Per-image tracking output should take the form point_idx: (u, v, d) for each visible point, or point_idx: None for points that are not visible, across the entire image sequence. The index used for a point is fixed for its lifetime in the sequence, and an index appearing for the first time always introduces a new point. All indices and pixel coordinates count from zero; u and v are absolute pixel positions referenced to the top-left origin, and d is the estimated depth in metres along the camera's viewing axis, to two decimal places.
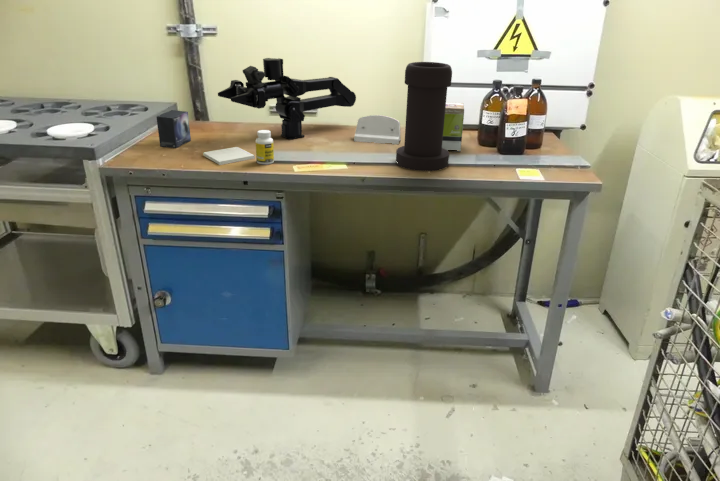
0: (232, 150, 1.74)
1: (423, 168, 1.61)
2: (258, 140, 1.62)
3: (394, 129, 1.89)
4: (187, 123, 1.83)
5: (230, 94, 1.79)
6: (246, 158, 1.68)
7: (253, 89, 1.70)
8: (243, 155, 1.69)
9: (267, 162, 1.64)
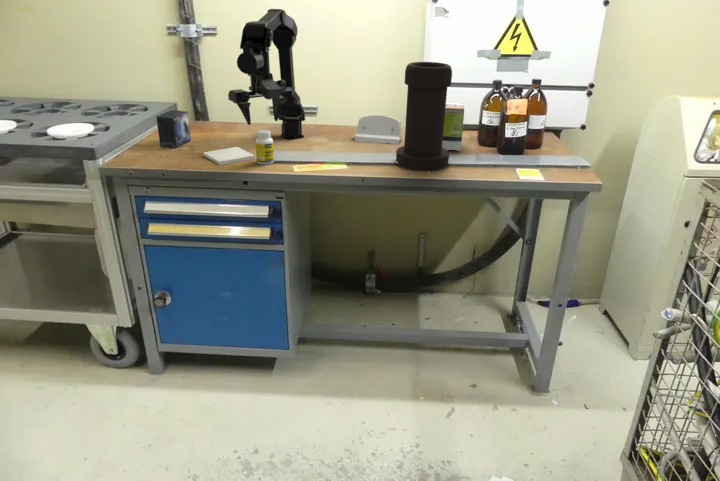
0: (232, 150, 1.74)
1: (423, 168, 1.61)
2: (258, 140, 1.62)
3: (395, 129, 1.89)
4: (187, 123, 1.83)
5: None
6: (246, 158, 1.68)
7: (288, 99, 1.61)
8: (243, 155, 1.69)
9: (267, 162, 1.64)
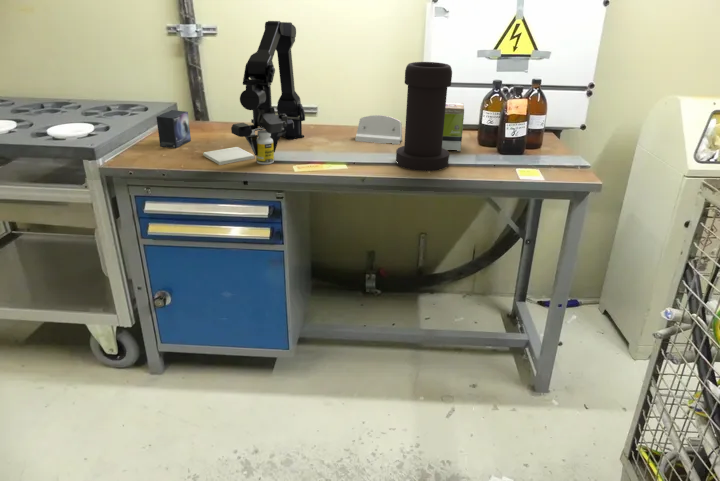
0: (232, 150, 1.74)
1: (423, 168, 1.61)
2: (258, 140, 1.62)
3: (395, 129, 1.89)
4: (187, 123, 1.83)
5: None
6: (246, 158, 1.68)
7: (285, 132, 1.64)
8: (243, 155, 1.69)
9: (267, 162, 1.64)
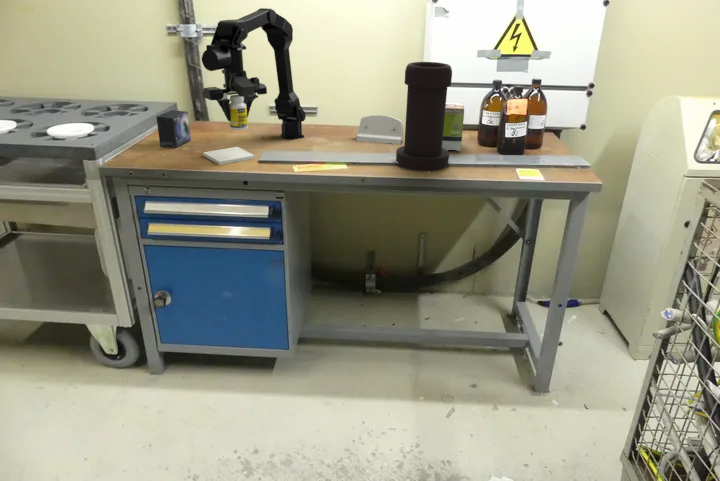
0: (232, 150, 1.74)
1: (423, 168, 1.61)
2: (231, 105, 1.60)
3: (396, 129, 1.89)
4: (187, 123, 1.83)
5: None
6: (246, 158, 1.68)
7: (257, 96, 1.62)
8: (243, 155, 1.69)
9: (241, 127, 1.62)
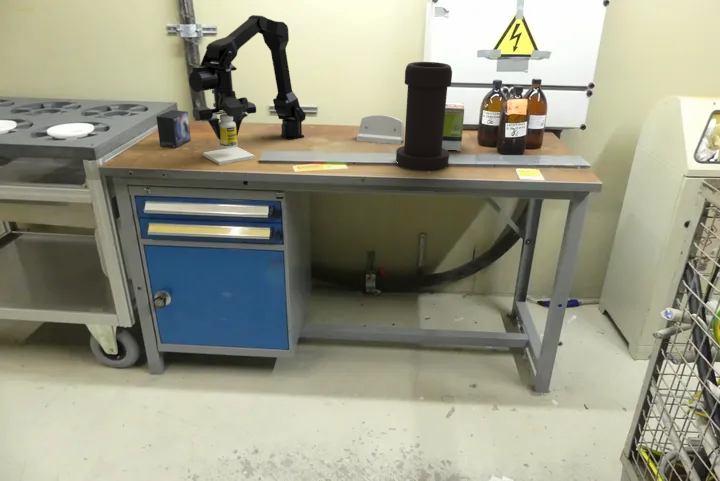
0: (232, 150, 1.74)
1: (423, 168, 1.61)
2: (220, 124, 1.64)
3: (397, 129, 1.89)
4: (187, 123, 1.83)
5: None
6: (246, 158, 1.68)
7: (246, 115, 1.66)
8: (243, 155, 1.69)
9: (230, 145, 1.66)
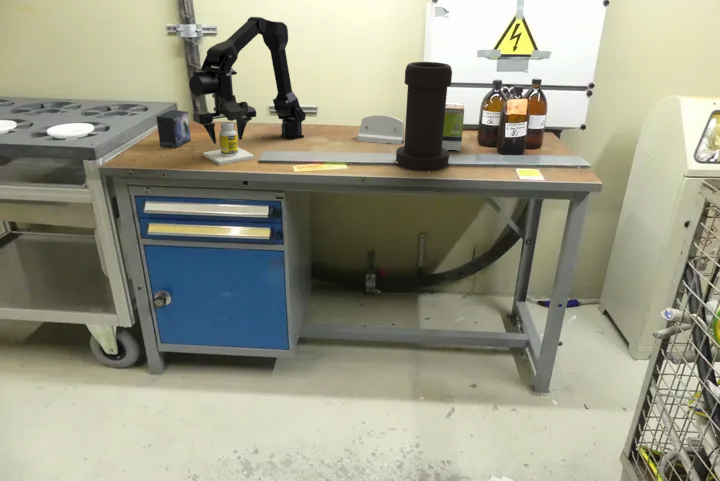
0: None
1: (423, 168, 1.61)
2: (221, 132, 1.65)
3: (397, 129, 1.89)
4: (187, 123, 1.83)
5: None
6: (246, 158, 1.68)
7: (251, 119, 1.68)
8: (243, 155, 1.69)
9: (231, 154, 1.67)
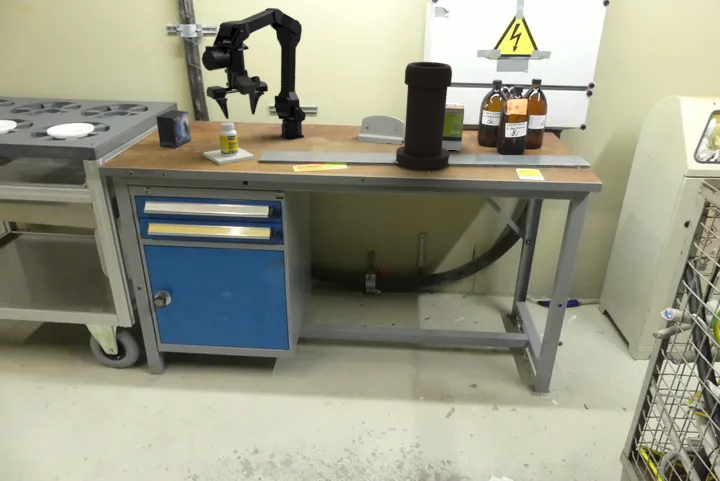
0: None
1: (423, 168, 1.61)
2: (221, 132, 1.65)
3: (398, 129, 1.89)
4: (187, 123, 1.83)
5: None
6: (246, 158, 1.68)
7: (263, 93, 1.71)
8: (243, 155, 1.69)
9: (231, 154, 1.67)
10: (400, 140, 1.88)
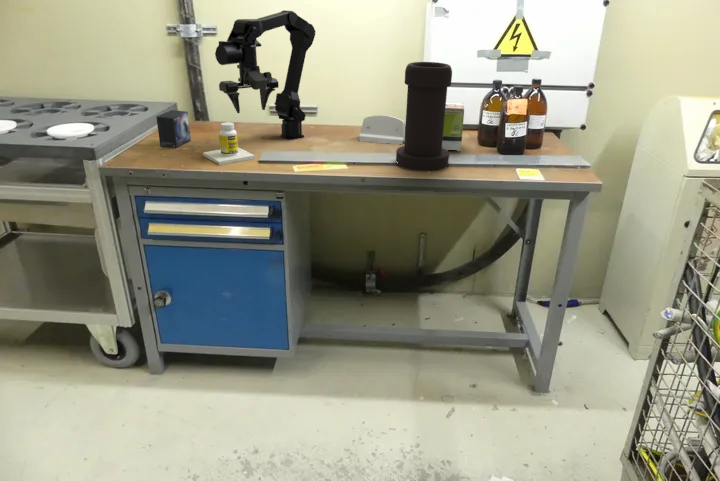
0: None
1: (423, 168, 1.61)
2: (221, 132, 1.65)
3: (399, 129, 1.89)
4: (187, 123, 1.83)
5: None
6: (246, 158, 1.68)
7: (274, 89, 1.76)
8: (243, 155, 1.69)
9: (231, 154, 1.67)
10: (401, 140, 1.88)
